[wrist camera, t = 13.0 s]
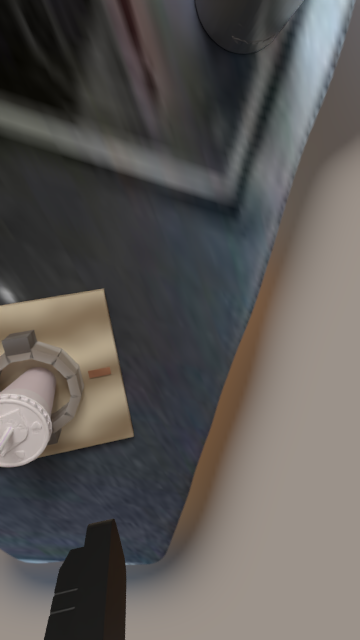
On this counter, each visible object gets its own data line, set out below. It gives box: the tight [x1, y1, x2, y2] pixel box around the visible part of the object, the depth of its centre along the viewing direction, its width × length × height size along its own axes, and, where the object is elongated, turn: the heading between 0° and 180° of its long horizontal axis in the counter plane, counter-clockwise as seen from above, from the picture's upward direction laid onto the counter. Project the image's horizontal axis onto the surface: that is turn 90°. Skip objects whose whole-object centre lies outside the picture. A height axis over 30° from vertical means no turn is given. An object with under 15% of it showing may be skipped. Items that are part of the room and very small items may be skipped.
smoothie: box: [0, 367, 56, 467], centre depth 29 cm, size 6×6×14 cm
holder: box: [0, 289, 134, 458], centre depth 35 cm, size 18×18×4 cm
